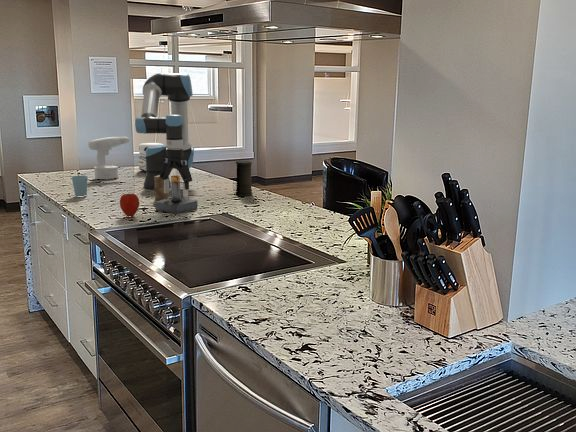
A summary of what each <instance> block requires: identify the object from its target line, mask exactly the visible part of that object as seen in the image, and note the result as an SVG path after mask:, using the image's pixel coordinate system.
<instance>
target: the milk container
mask: <svg viewBox="0 0 576 432" xmlns="http://www.w3.org/2000/svg"><path fill="white" fill-rule="evenodd" d="M157 145H164V144H163V142H162V143H161V142H143V143H139V144H138V151H139V157H138V158H139V160H138V169H139V170H140V171H141V172H144V173H146V157H145V156H146V149H147V148H148V147H152V146H157Z"/></svg>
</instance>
